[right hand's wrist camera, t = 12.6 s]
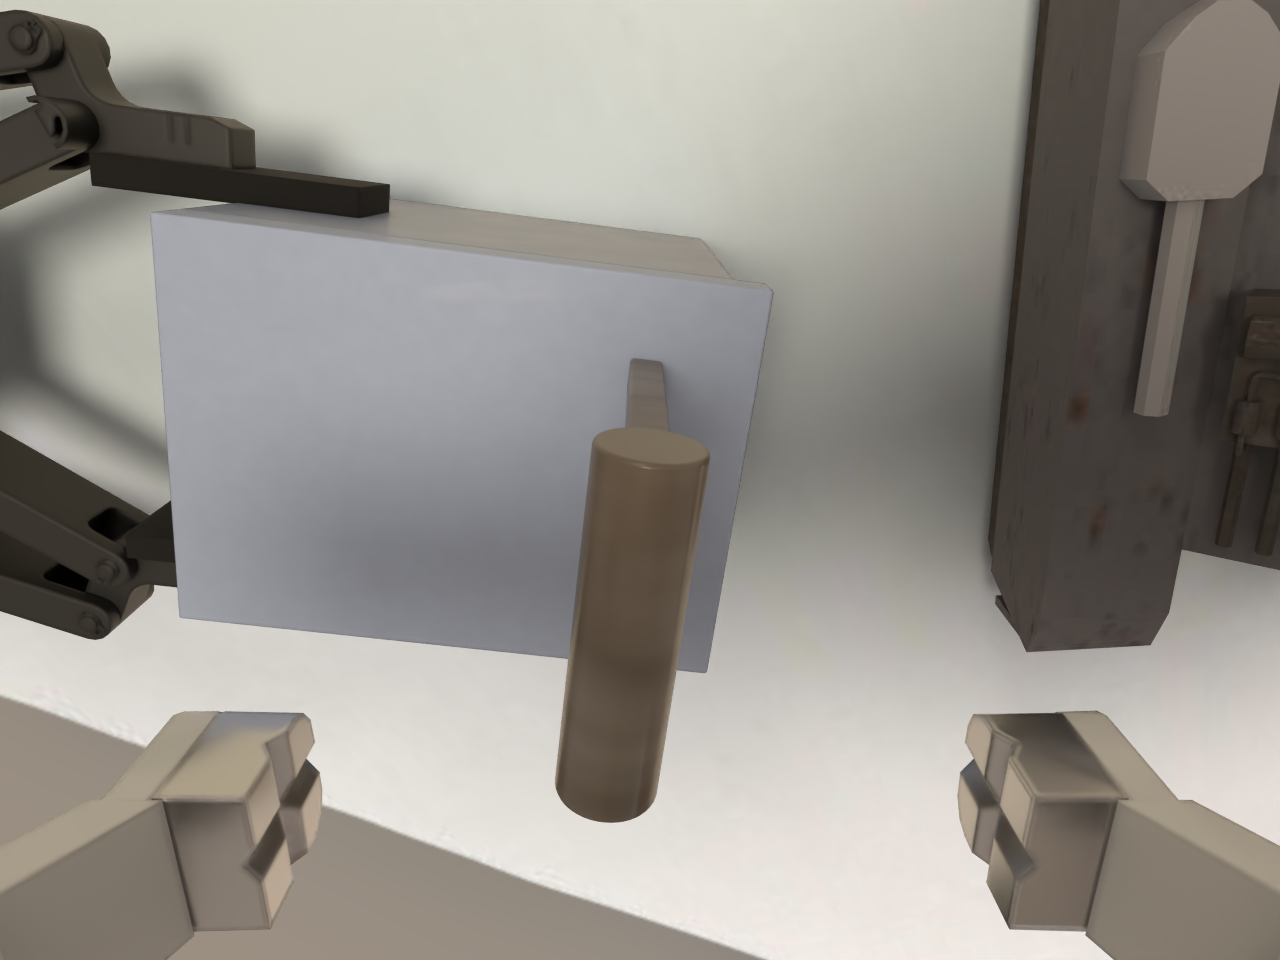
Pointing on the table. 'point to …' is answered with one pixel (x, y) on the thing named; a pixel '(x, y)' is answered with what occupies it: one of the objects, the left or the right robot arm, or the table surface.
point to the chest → (506, 234)
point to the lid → (461, 458)
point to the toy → (1141, 317)
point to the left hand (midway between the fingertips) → (372, 388)
